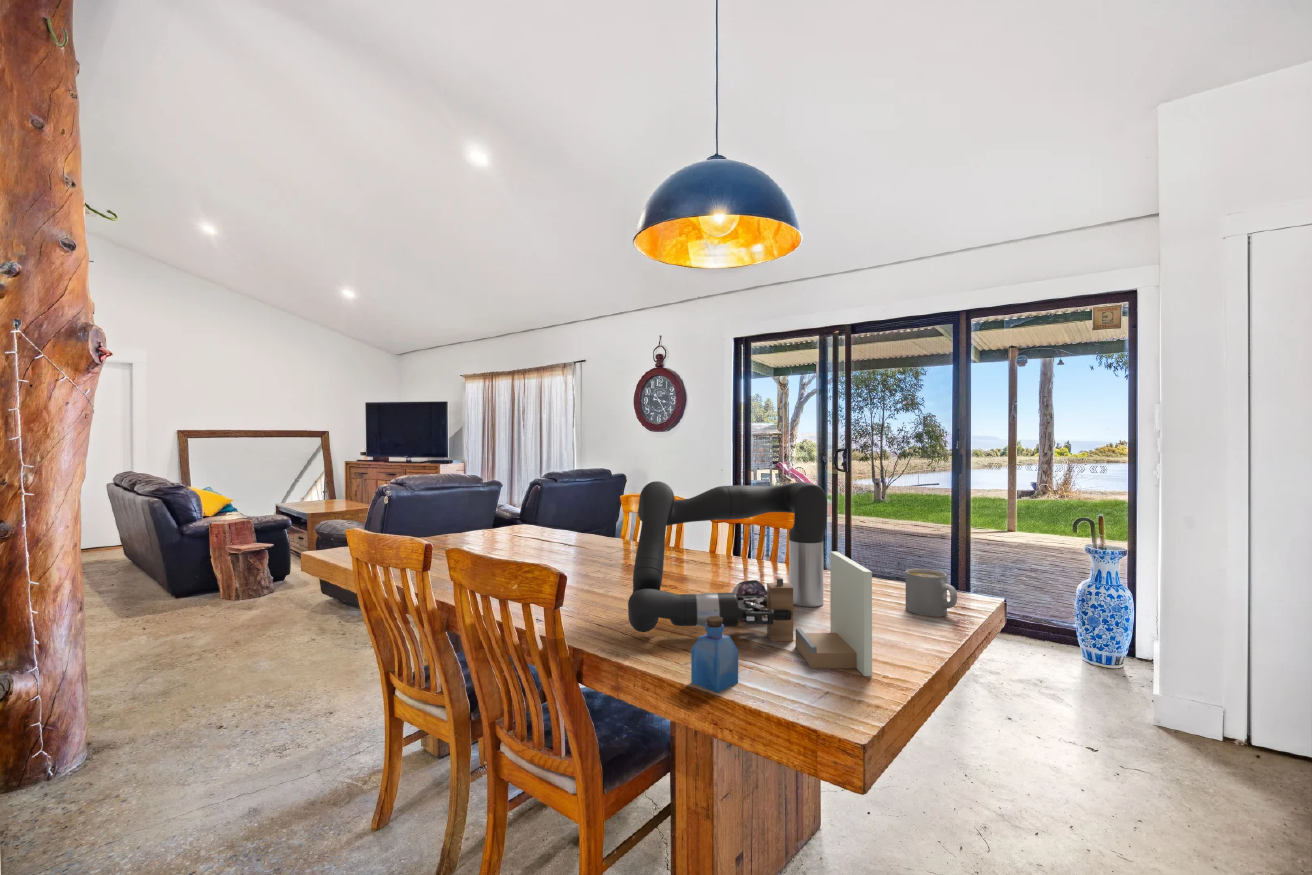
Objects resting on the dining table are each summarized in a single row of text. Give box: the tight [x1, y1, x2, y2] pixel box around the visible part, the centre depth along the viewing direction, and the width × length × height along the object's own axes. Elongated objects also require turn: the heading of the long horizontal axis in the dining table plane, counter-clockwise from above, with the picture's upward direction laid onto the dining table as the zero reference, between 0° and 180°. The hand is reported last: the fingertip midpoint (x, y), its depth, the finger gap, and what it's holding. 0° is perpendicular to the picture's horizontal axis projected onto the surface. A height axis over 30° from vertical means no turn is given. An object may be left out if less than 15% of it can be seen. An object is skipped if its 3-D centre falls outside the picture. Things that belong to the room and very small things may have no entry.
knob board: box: [766, 577, 794, 642], centre depth 134 cm, size 4×5×14 cm
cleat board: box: [795, 551, 873, 677], centre depth 122 cm, size 20×10×20 cm, turn 1°
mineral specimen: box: [731, 579, 767, 622], centre depth 148 cm, size 10×10×10 cm
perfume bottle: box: [690, 616, 739, 694], centre depth 109 cm, size 6×6×12 cm
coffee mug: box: [905, 568, 958, 617], centre depth 153 cm, size 13×10×10 cm
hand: (786, 609), depth 134 cm, fingers open, 8 cm apart
